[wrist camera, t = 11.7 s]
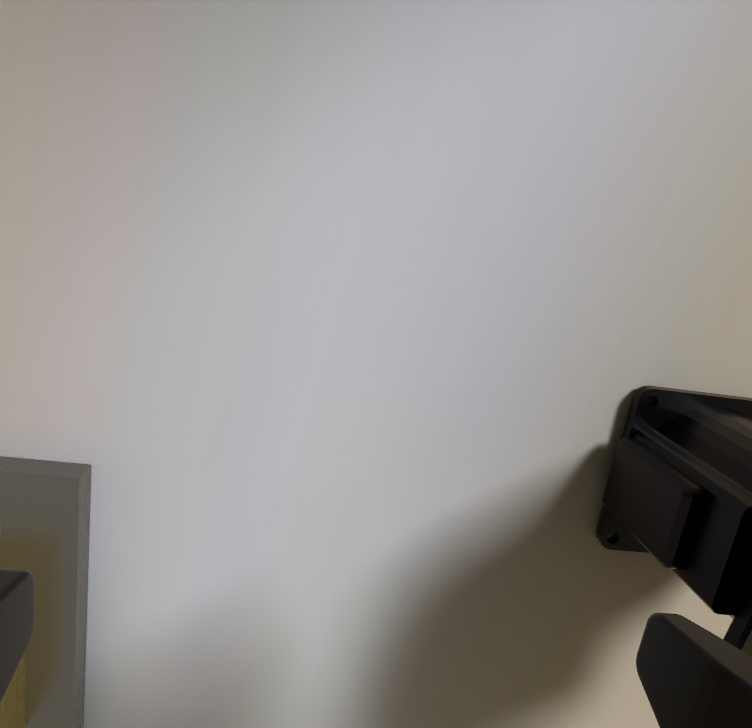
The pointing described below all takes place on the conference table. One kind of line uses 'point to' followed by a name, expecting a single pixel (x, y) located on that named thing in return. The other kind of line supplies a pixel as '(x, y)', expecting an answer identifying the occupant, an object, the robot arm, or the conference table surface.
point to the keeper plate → (50, 579)
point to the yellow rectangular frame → (14, 700)
